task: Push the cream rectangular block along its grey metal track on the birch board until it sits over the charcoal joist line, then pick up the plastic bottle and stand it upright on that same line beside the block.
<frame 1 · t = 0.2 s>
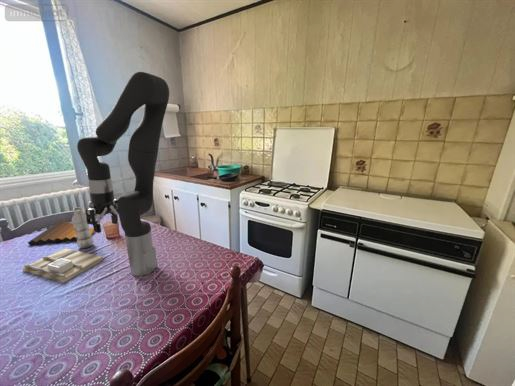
hand: (107, 227, 90), 17 cm above the table, tool pointing down, fingers open, 8 cm apart
pan flute: (72, 233, 123), on the table
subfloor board: (64, 264, 94), on the table
plastic bottle: (86, 247, 109), on the table
cream rectangular block: (60, 265, 88), point 3 cm above the table, slide at -5.0 cm
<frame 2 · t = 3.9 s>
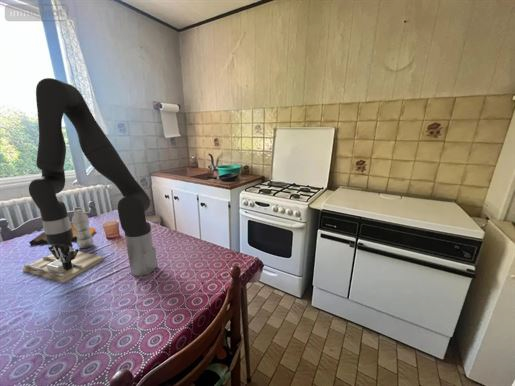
hand: (68, 269, 87), 3 cm above the table, tool pointing down, fingers closed
cream rectangular block: (59, 265, 88), point 3 cm above the table, slide at -4.7 cm, touching gripper
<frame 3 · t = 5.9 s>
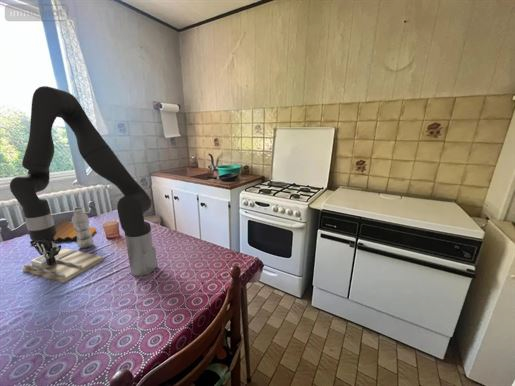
hand: (52, 264, 89), 3 cm above the table, tool pointing down, fingers closed
cream rectangular block: (43, 261, 91), point 3 cm above the table, slide at 4.5 cm, touching gripper
everything else where it was.
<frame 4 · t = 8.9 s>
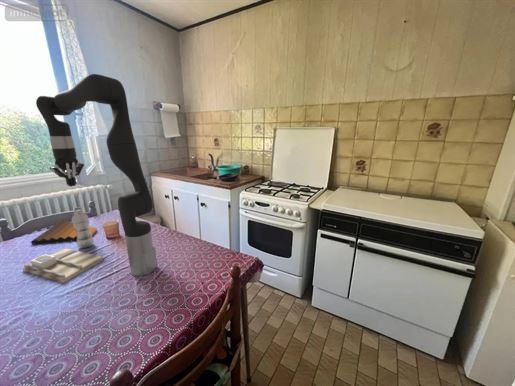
hand: (72, 185, 99), 31 cm above the table, tool pointing down, fingers closed
cream rectangular block: (43, 261, 91), point 3 cm above the table, slide at 4.5 cm
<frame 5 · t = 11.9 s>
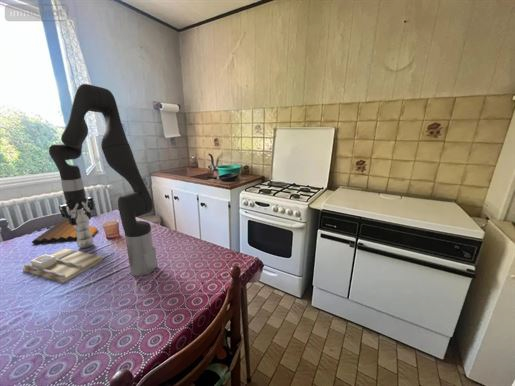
hand: (80, 222, 105), 13 cm above the table, tool pointing down, fingers closed on plastic bottle, 6 cm apart
plastic bottle: (86, 247, 109), on the table, touching gripper
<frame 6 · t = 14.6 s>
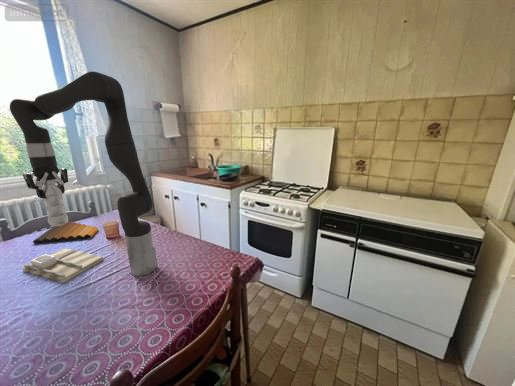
hand: (52, 195, 91), 29 cm above the table, tool pointing down, fingers closed on plastic bottle, 6 cm apart
plastic bottle: (59, 225, 94), point 16 cm above the table, touching gripper
when the fingers open (16 cm above the table, at t = 17.7 s): plastic bottle drops 1 cm, resting on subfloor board.
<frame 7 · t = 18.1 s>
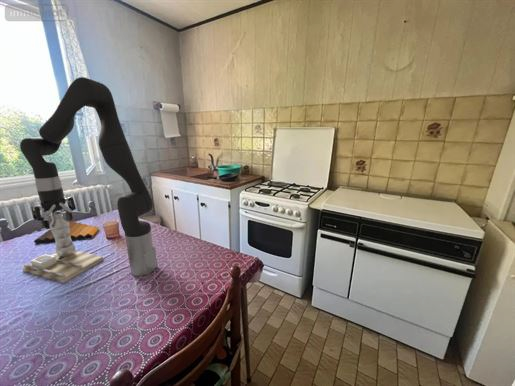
hand: (58, 224, 94), 17 cm above the table, tool pointing down, fingers open, 8 cm apart
plastic bottle: (67, 255, 98), point 1 cm above the table, touching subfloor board
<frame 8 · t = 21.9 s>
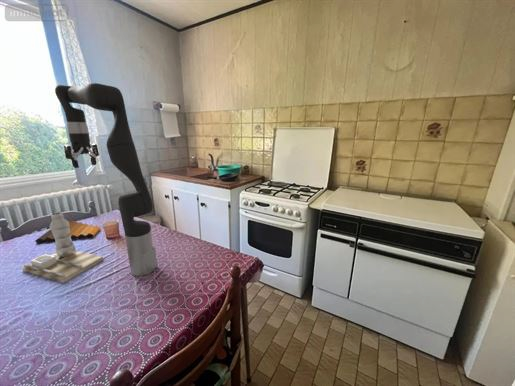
hand: (85, 166, 108), 38 cm above the table, tool pointing down, fingers open, 8 cm apart
at the end: cream rectangular block slide at 4.5 cm; plastic bottle 0.4 cm from the target spot, point 1.3 cm above the table; plastic bottle tilted 0° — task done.
